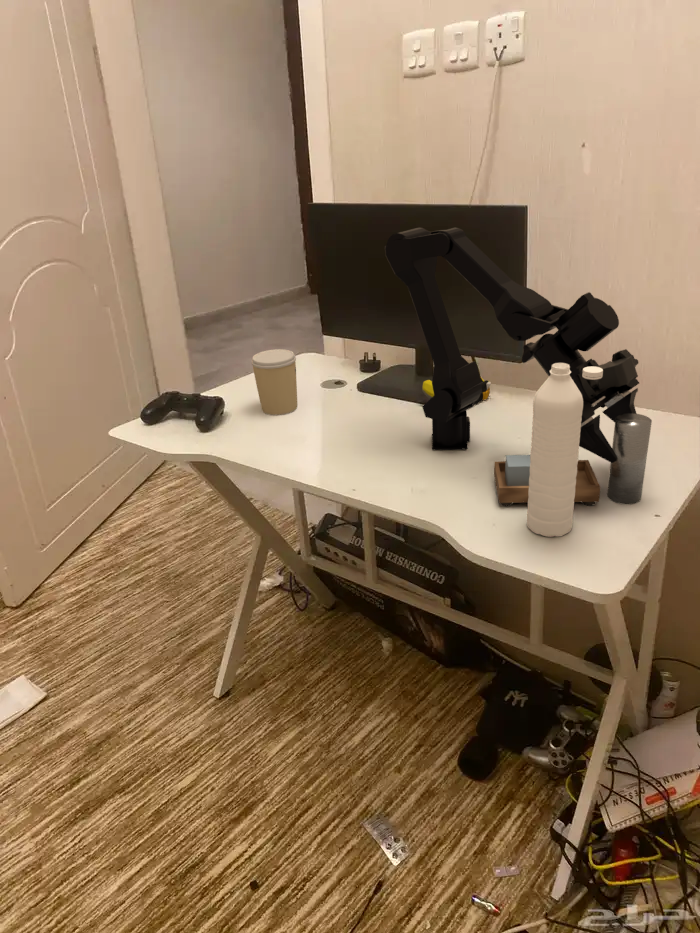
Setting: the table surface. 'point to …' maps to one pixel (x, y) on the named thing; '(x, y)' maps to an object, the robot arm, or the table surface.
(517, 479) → the pale grey cube
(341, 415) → the table surface
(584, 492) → the walnut tray
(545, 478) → the water bottle
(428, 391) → the gaming controller
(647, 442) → the metal cylinder
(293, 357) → the coffee cup
